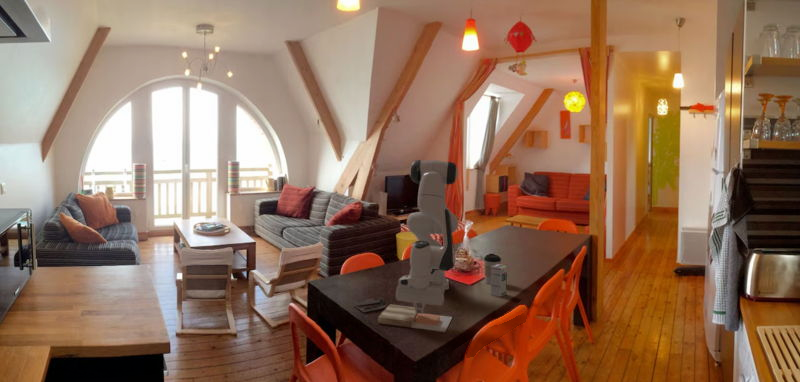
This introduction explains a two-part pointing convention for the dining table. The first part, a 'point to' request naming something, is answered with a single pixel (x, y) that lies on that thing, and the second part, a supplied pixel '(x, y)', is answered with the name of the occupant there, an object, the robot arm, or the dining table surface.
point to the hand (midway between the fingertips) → (419, 312)
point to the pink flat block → (427, 319)
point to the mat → (440, 326)
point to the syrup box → (498, 280)
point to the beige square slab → (398, 315)
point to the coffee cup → (488, 263)
